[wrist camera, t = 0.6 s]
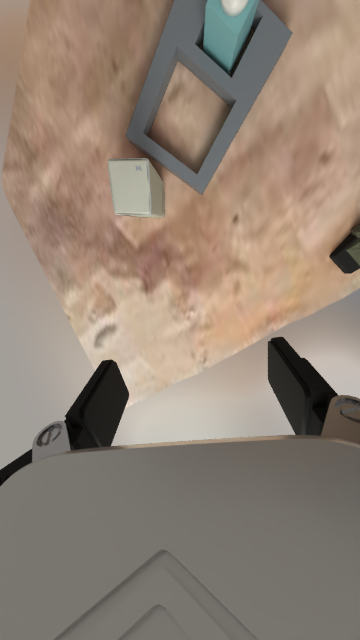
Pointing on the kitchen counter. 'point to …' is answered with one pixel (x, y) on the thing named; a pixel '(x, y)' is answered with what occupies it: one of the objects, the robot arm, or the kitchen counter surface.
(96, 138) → the kitchen counter surface
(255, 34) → the frame
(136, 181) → the box
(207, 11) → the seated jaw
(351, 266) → the mechanical leg
